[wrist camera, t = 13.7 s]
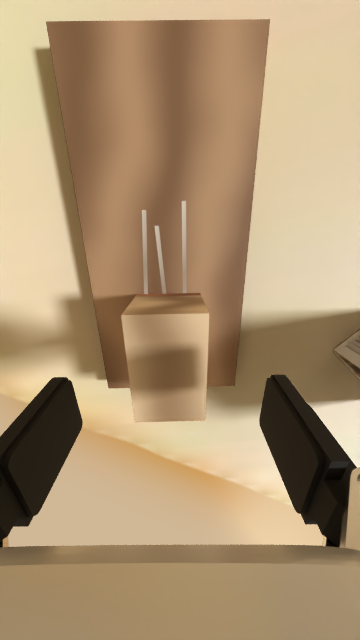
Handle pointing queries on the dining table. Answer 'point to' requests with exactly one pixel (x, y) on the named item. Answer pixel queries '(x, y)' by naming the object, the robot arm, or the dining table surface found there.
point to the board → (163, 166)
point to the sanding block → (167, 356)
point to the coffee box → (350, 353)
